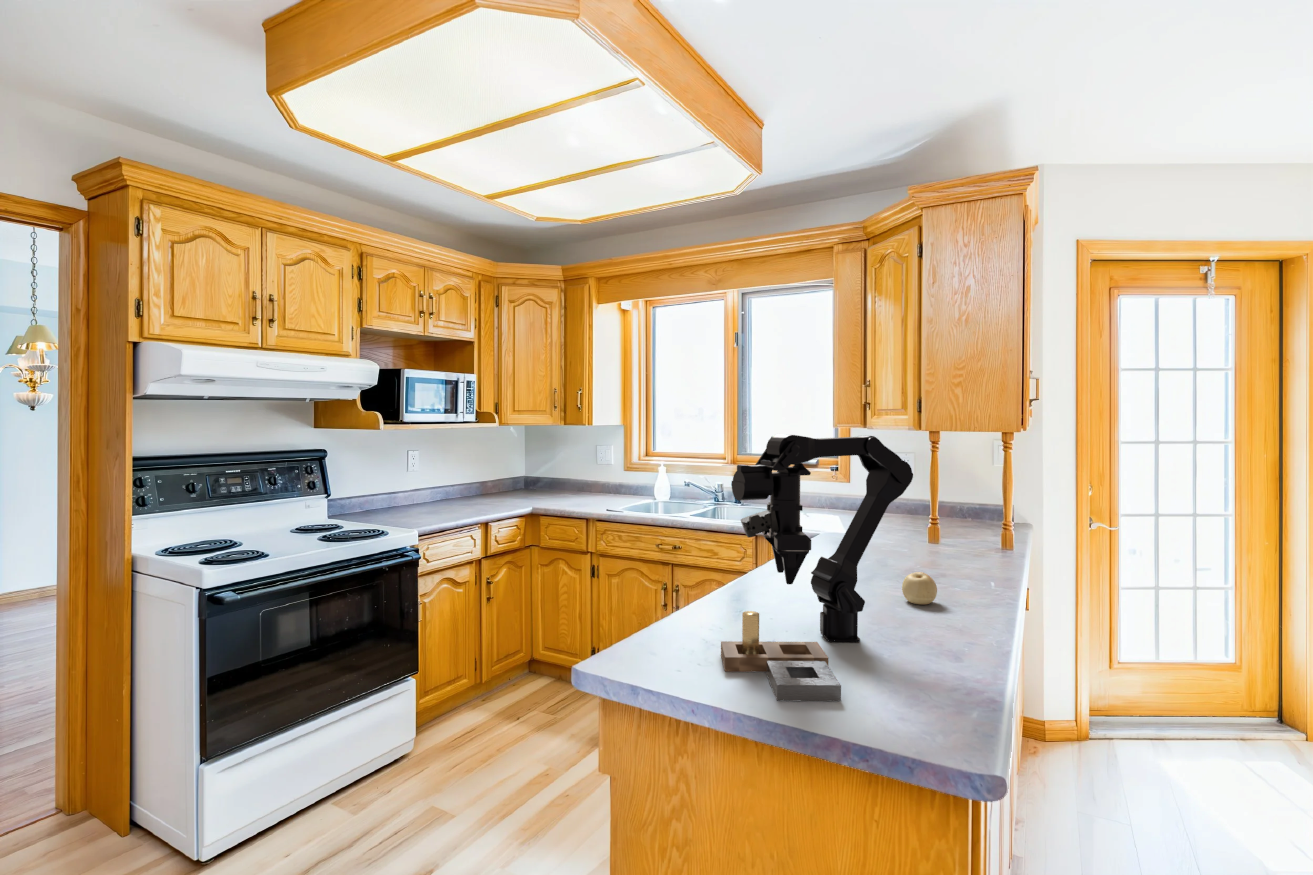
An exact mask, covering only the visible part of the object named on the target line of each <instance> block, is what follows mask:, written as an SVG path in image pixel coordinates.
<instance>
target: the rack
mask: <svg viewBox="0 0 1313 875" xmlns="http://www.w3.org/2000/svg"><path fill="white" fill-rule="evenodd" d="M720 656H721V660H722V665H723V668H724V671H725V672H745V673H746V672H748V673H749V672H751V673H752V672H757V673H758V672H760V673H761V672H764V673H765V672H766V673H767V661H825V662H826V663H827V665H828V666H829V657H828V655H827V654H826V652H825V651H824V649H823V647H822V646H821V645H820V643H819V642H818V641H759V654H742V641H738V640H737V641H732V640H730V641H727V640H726V641H722V640H721V641H720Z"/></svg>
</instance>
